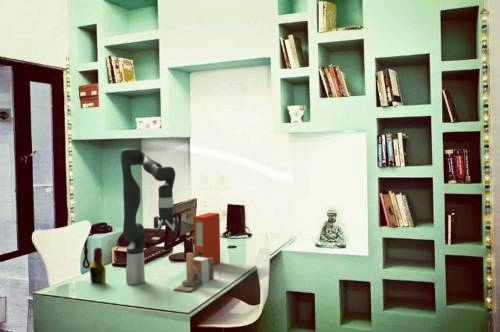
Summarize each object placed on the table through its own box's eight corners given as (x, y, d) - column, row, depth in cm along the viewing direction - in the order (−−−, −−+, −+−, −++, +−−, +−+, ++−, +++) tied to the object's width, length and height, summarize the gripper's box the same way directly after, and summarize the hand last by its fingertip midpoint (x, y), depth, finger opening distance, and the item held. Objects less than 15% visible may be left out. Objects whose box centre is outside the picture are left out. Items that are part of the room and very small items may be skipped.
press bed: (173, 290, 253) (173, 268, 252) (198, 277, 277) (197, 256, 276) (190, 292, 249) (189, 270, 248) (213, 278, 273) (213, 258, 272)
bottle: (109, 283, 270) (107, 248, 268) (99, 285, 265) (97, 250, 264) (97, 279, 278) (96, 245, 276) (87, 281, 273) (86, 247, 272)
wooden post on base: (182, 285, 258) (181, 254, 257) (190, 280, 266) (189, 250, 264) (193, 286, 255) (192, 255, 254) (201, 282, 263) (200, 251, 262)
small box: (190, 281, 268) (190, 259, 267) (198, 278, 273) (197, 256, 273) (202, 284, 264) (201, 260, 263) (209, 281, 269) (208, 258, 268)
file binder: (220, 262, 307) (219, 213, 305) (205, 269, 292) (203, 217, 290) (210, 261, 311) (208, 212, 309) (194, 268, 296) (193, 216, 294)
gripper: (181, 205, 245) (182, 236, 246) (158, 204, 251) (159, 234, 252) (173, 207, 238) (174, 239, 239) (150, 206, 244) (151, 237, 245)
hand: (166, 237), depth 245 cm, fingers open, 8 cm apart
